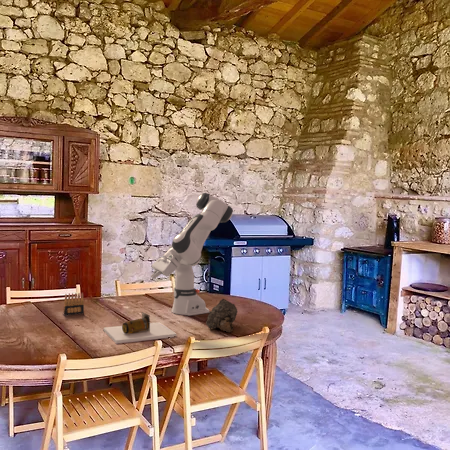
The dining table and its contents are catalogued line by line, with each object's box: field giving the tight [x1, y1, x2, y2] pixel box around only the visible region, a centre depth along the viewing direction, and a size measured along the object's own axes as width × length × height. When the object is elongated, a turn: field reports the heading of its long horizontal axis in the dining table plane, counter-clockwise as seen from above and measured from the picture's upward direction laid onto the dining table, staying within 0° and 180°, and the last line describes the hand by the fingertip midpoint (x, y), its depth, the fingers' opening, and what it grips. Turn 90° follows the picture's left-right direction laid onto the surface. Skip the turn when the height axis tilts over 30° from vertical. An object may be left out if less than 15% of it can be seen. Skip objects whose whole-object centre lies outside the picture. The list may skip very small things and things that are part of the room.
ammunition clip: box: [63, 292, 85, 316], centre depth 268 cm, size 11×2×12 cm, turn 120°
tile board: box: [102, 321, 178, 344], centre depth 238 cm, size 30×22×2 cm
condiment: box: [121, 311, 151, 334], centre depth 235 cm, size 7×8×12 cm
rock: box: [205, 298, 238, 333], centre depth 252 cm, size 18×14×15 cm
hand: (152, 277), depth 252 cm, fingers closed
